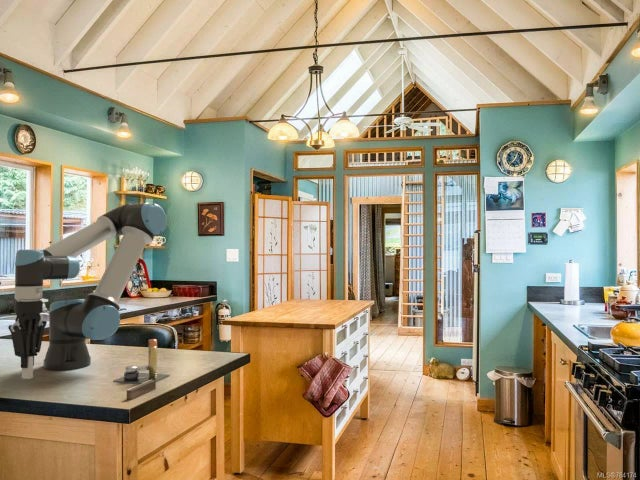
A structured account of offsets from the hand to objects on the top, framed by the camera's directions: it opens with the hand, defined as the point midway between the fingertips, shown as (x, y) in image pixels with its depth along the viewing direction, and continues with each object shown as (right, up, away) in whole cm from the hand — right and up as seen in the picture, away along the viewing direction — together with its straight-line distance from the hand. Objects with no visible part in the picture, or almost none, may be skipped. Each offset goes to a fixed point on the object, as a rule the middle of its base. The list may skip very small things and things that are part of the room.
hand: (27, 378), depth 165 cm
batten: (+38, -2, -10) cm, 39 cm away
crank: (+32, 0, +7) cm, 33 cm away
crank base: (+32, -2, +8) cm, 33 cm away
